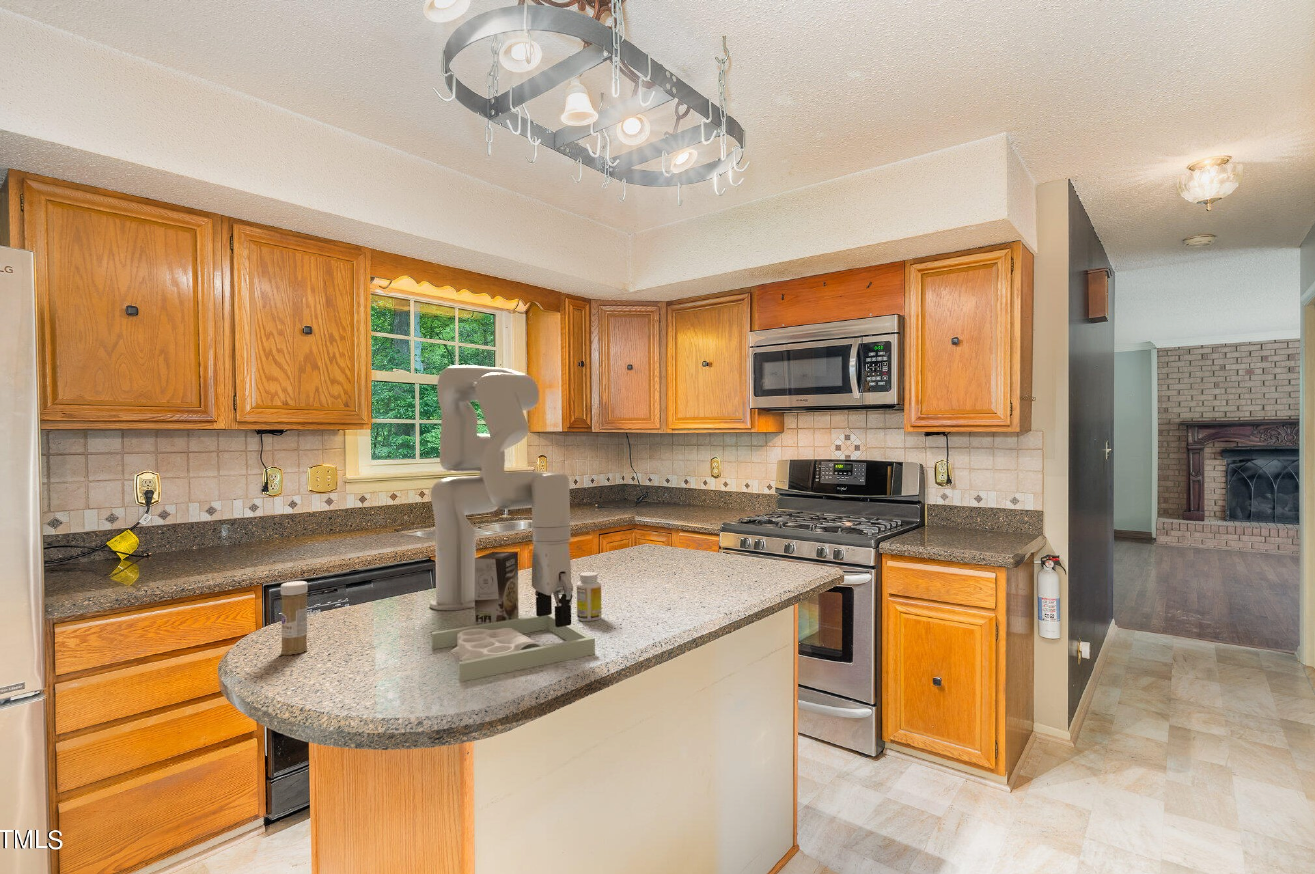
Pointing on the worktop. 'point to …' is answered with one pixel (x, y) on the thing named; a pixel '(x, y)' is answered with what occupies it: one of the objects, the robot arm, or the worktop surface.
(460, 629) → the green rectangular frame
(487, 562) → the coffee box
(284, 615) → the sprinkles bottle
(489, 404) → the robot arm
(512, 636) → the white brass knuckles
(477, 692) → the worktop surface
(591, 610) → the supplement bottle
